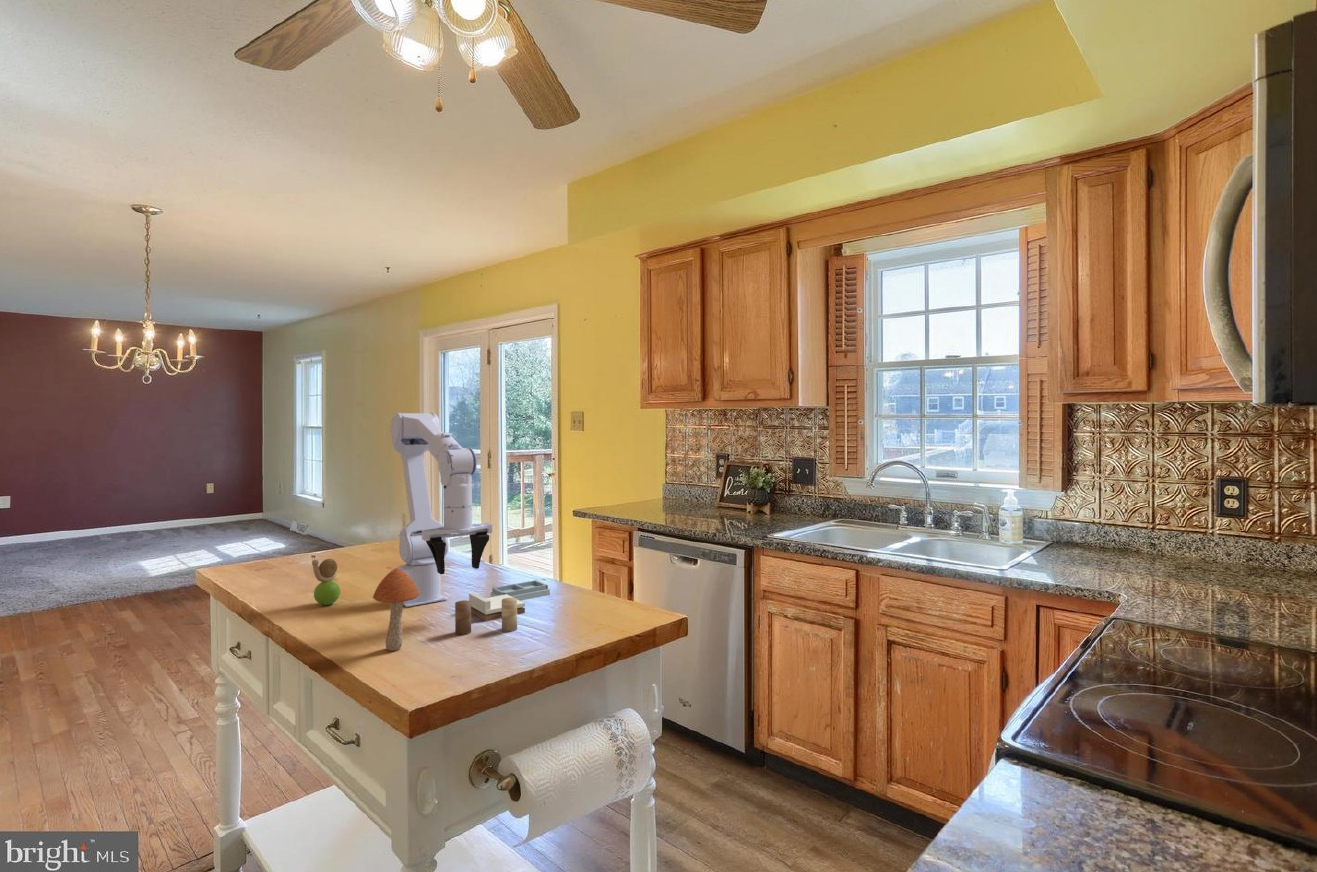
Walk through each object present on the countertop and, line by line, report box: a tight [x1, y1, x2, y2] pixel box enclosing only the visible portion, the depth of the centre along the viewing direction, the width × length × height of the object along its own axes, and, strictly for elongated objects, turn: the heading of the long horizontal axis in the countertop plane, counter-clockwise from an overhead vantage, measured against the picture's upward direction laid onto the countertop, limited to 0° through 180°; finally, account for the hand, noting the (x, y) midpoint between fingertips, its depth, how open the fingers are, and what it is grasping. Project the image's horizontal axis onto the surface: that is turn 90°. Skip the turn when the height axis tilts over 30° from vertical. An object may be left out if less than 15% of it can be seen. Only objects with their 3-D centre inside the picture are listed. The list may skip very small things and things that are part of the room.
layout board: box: [471, 607, 526, 622], centre depth 141 cm, size 9×9×1 cm
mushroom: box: [372, 567, 419, 652], centre depth 119 cm, size 8×8×15 cm
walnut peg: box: [454, 600, 472, 636], centre depth 128 cm, size 3×3×6 cm
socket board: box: [490, 579, 551, 601], centre depth 154 cm, size 12×7×2 cm, turn 129°
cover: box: [468, 592, 526, 614], centre depth 141 cm, size 9×9×3 cm
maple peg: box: [501, 598, 518, 633], centre depth 130 cm, size 3×3×6 cm
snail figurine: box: [310, 554, 342, 606], centre depth 147 cm, size 5×6×12 cm
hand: (458, 570), depth 136 cm, fingers open, 7 cm apart
